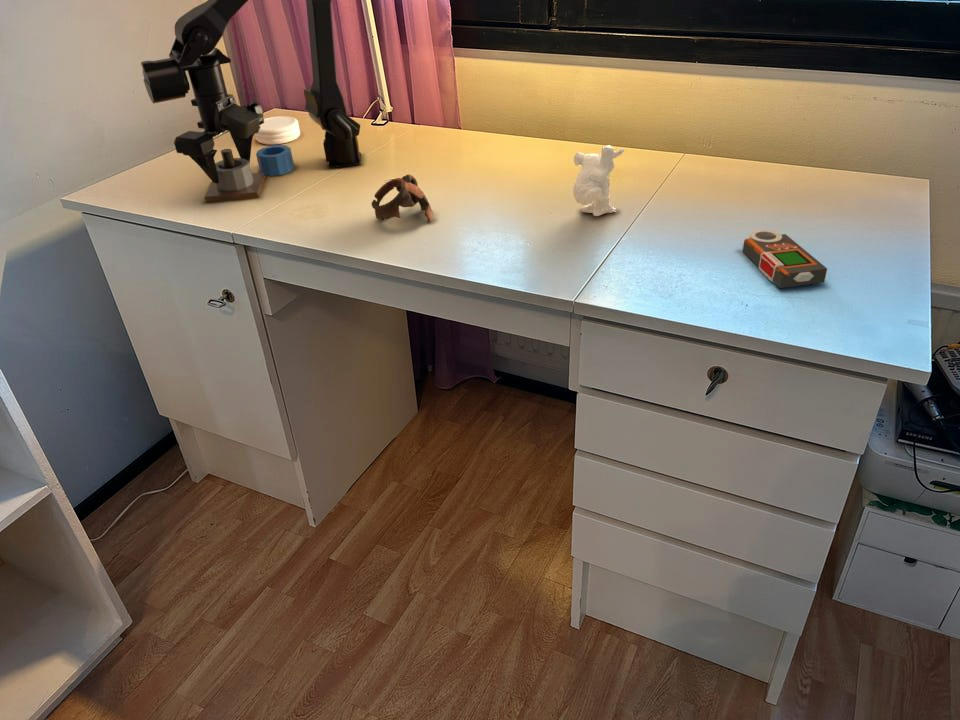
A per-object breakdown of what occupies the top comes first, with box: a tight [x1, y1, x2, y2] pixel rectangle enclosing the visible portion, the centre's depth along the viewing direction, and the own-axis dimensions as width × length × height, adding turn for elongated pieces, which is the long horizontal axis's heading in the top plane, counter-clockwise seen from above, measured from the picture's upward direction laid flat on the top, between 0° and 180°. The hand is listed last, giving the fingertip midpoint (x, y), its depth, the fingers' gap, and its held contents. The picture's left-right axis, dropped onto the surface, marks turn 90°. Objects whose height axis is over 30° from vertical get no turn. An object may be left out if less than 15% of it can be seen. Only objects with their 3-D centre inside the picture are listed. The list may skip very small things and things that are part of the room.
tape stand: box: [203, 148, 266, 204], centre depth 141 cm, size 10×10×8 cm
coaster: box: [254, 115, 301, 146], centre depth 166 cm, size 10×10×4 cm
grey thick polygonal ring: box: [215, 157, 253, 191], centre depth 142 cm, size 7×7×4 cm
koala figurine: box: [572, 144, 625, 217], centre depth 124 cm, size 8×7×12 cm
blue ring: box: [255, 144, 295, 177], centre depth 150 cm, size 7×7×4 cm
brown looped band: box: [371, 174, 434, 223], centre depth 128 cm, size 12×10×8 cm
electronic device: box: [742, 229, 828, 289], centre depth 109 cm, size 7×3×15 cm
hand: (232, 173), depth 142 cm, fingers open, 9 cm apart
